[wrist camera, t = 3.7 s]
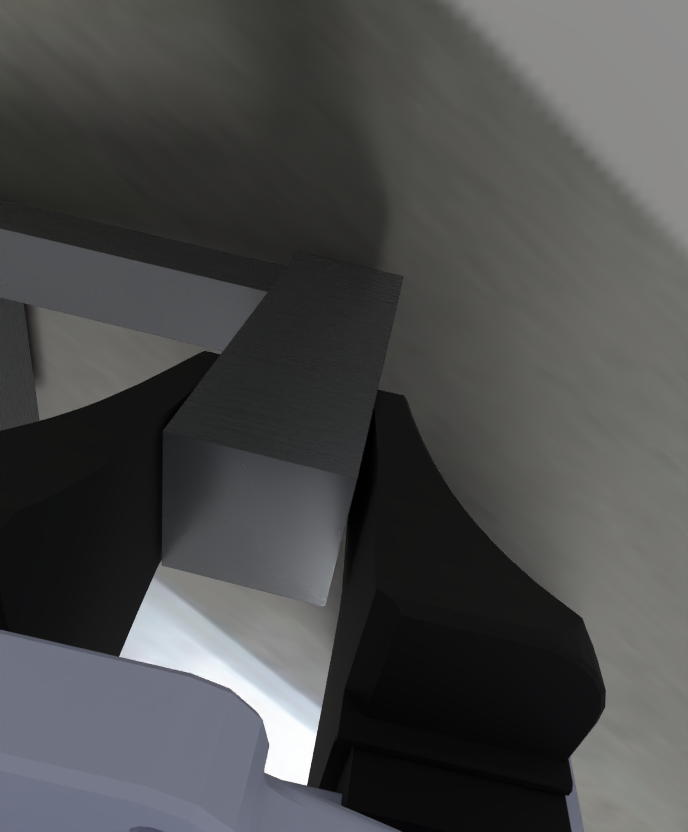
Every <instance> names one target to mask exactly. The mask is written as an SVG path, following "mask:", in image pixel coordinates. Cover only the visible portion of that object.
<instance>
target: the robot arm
mask: <svg viewBox="0 0 688 832" xmlns="http://www.w3.org/2000/svg"><path fill="white" fill-rule="evenodd" d="M219 356H220V354H216V353H212V352H207V351H204V352H201V353H199V354H197V355H195V356H193V357H191V358H189V359H187V360H185V361H183V362H181V363H179V364H177V365H176V366H174V367H172V368H170V369H168V370H166V371H164V372H162V373H160V374H158V375H156V376H154V377H152V378H150V379H148V380H146V381H144V382H142V383H140V384H138V385H135V386H133V387H131V388H129V389H126V390H124V391H122V392H120V393H117V394H115V395H113V396H110V397H108V398H106V399H104V400H101V401H99V402H96V403H93V404H91V405H88V406H85V407H83V408H80V409H77V410H74V411H71V412H68V413H65V414H62V415H58V416H55V417H52V418H49V419H45V420H41V421H37V422H33V423H29V424H25V425H21V426H17V427H13V428H9V429H5V430H1V431H0V832H584V829H583V823H582V816H581V811H580V806H579V801H578V796H577V790H576V785H575V780H574V775H573V769H572V764H571V759H570V756H571V755H572V754H573V752H574V751H575V750H576V749H577V747H578V746H579V745H580V743H581V742H582V741H583V740H584V738H585V737H586V736H587V735H588V733H589V732H590V731H591V729H592V728H593V727H594V726H595V724H596V723H597V722H598V720H599V718H600V716H601V714H602V712H603V710H604V708H605V695H606V690H605V686H604V682H603V679H602V675H601V671H600V667H599V663H598V660H597V657H596V654H595V651H594V648H593V645H592V642H591V640H590V637H589V635H588V632H587V630H586V627H585V624H584V621H583V619H582V618H581V617H580V616H579V615H577V614H576V613H575V612H574V611H572V610H571V609H570V608H568V607H567V606H566V605H564V604H563V603H562V602H560V601H559V600H558V599H557V598H555V597H554V596H553V595H551V594H550V593H549V592H547V591H546V590H545V589H543V588H542V587H541V586H540V585H538V584H537V583H536V582H535V581H534V580H532V579H531V578H530V577H529V576H528V575H527V574H526V573H525V572H524V571H522V570H521V569H520V568H519V567H518V566H517V565H516V564H515V563H513V562H512V561H511V560H510V559H509V558H508V557H507V556H506V555H505V554H504V553H503V552H502V551H501V550H500V549H499V548H498V547H497V546H496V545H495V544H494V543H493V542H492V541H491V540H490V538H489V537H488V536H487V535H486V534H485V533H484V532H483V531H482V530H481V529H480V528H479V526H478V525H477V524H476V523H475V522H474V521H473V519H472V518H471V517H470V516H469V515H468V513H467V512H466V511H465V510H464V508H463V507H462V506H461V504H460V503H459V502H458V500H457V499H456V498H455V496H454V495H453V493H452V492H451V490H450V489H449V487H448V486H447V484H446V483H445V481H444V479H443V477H442V476H441V474H440V472H439V471H438V469H437V467H436V465H435V464H434V462H433V460H432V458H431V456H430V454H429V452H428V450H427V448H426V446H425V444H424V442H423V440H422V438H421V436H420V433H419V431H418V429H417V426H416V424H415V421H414V419H413V416H412V414H411V411H410V408H409V405H408V402H407V400H406V398H405V397H404V396H403V395H399V394H394V393H390V392H385V391H381V390H377V394H376V399H375V403H374V408H373V412H372V416H371V421H370V425H369V430H368V434H367V438H366V443H365V447H364V451H363V456H362V460H361V465H360V469H359V473H358V478H357V482H356V486H355V490H354V494H353V498H352V502H351V506H350V510H349V513H348V521H347V534H346V547H345V560H344V573H343V586H342V596H341V604H340V612H339V617H338V623H337V628H336V634H335V639H334V645H333V651H332V656H331V661H330V667H329V672H328V678H327V683H326V689H325V694H324V699H323V705H322V710H321V715H320V721H319V726H318V731H317V737H316V742H315V747H314V752H313V758H312V763H311V768H310V773H309V778H308V784H307V786H305V785H301V784H297V783H292V782H288V781H284V780H280V779H278V778H276V777H273V776H271V775H269V774H266V773H264V768H265V763H266V758H267V754H268V749H269V742H268V739H267V735H266V731H265V727H264V724H263V720H262V718H261V717H260V716H259V714H258V713H257V712H256V711H255V710H254V709H253V708H252V707H251V706H249V705H248V704H247V703H246V702H245V701H244V700H243V699H241V698H240V697H239V696H238V695H237V694H236V693H234V692H233V691H232V690H231V689H229V688H227V687H224V686H222V685H219V684H217V683H214V682H212V681H209V680H206V679H204V678H201V677H199V676H196V675H194V674H191V673H187V672H183V671H178V670H174V669H169V668H165V667H161V666H156V665H152V664H148V663H143V662H139V661H135V660H130V659H126V658H121V657H119V655H120V653H121V650H122V648H123V646H124V643H125V641H126V639H127V636H128V634H129V631H130V629H131V627H132V624H133V622H134V620H135V617H136V615H137V612H138V610H139V608H140V605H141V603H142V601H143V599H144V596H145V594H146V592H147V590H148V587H149V585H150V583H151V581H152V578H153V576H154V574H155V571H156V569H157V567H158V565H159V563H160V562H161V560H162V477H163V430H164V429H165V427H166V426H167V425H168V423H169V422H170V421H171V419H172V418H173V417H174V415H175V414H176V413H177V411H178V410H179V409H180V407H181V406H182V405H183V404H184V402H185V401H186V400H187V398H188V397H189V396H190V394H191V393H192V392H193V390H194V389H195V388H196V386H197V385H198V384H199V382H200V381H201V380H202V378H203V377H204V376H205V374H206V373H207V372H208V370H209V369H210V368H211V366H212V365H213V364H214V363H215V361H216V360H217V359H218V357H219Z"/></svg>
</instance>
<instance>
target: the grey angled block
mask: <svg viewBox="0 0 688 832" xmlns="http://www.w3.org/2000/svg"><path fill="white" fill-rule="evenodd" d="M402 281H403V276H399V275H395V274H391V273H386V272H382V271H378V270H374V269H369V268H365V267H361V266H356V265H352V264H348V263H344V262H339V261H335V260H331V259H327V258H322V257H318V256H314V255H309V254H305V253H301V252H298V253H297V254H296V255H295V257H294V258H293V259H292V261H291V262H290V263H289V265H288V266H287V267H285V266H281V265H277V264H272V263H268V262H264V261H260V260H255V259H251V258H247V257H243V256H238V255H234V254H230V253H226V252H221V251H217V250H213V249H209V248H204V247H200V246H196V245H192V244H187V243H183V242H179V241H175V240H170V239H166V238H162V237H158V236H153V235H149V234H145V233H141V232H136V231H132V230H128V229H124V228H119V227H115V226H111V225H107V224H102V223H98V222H94V221H90V220H85V219H81V218H77V217H73V216H68V215H64V214H60V213H56V212H51V211H47V210H43V209H39V208H34V207H30V206H26V205H22V204H17V203H13V202H9V201H5V200H0V431H1V430H5V429H9V428H13V427H17V426H21V425H25V424H29V423H33V422H37V421H39V414H38V407H37V399H36V392H35V384H34V377H33V370H32V362H31V355H30V348H29V340H28V333H27V325H26V318H25V311H24V303H25V304H30V305H34V306H38V307H42V308H46V309H50V310H54V311H59V312H63V313H67V314H71V315H75V316H79V317H83V318H88V319H92V320H96V321H100V322H104V323H108V324H112V325H116V326H121V327H125V328H129V329H133V330H137V331H141V332H145V333H150V334H154V335H158V336H162V337H166V338H170V339H174V340H179V341H183V342H187V343H191V344H195V345H199V346H203V347H208V348H212V349H216V350H220V351H223V352H222V353H221V355H220V356H219V357H218V359H217V360H216V361H215V363H214V364H213V365H212V366H211V368H210V369H209V370H208V372H207V373H206V374H205V376H204V377H203V378H202V380H201V381H200V382H199V384H198V385H197V386H196V388H195V389H194V390H193V392H192V393H191V394H190V396H189V397H188V398H187V400H186V401H185V402H184V404H183V405H182V406H181V407H180V409H179V410H178V411H177V413H176V414H175V415H174V417H173V418H172V419H171V421H170V422H169V423H168V425H167V426H166V427H165V429H164V430H163V477H162V565H163V566H166V567H170V568H174V569H178V570H182V571H186V572H190V573H194V574H198V575H202V576H206V577H209V578H213V579H217V580H221V581H225V582H229V583H233V584H237V585H241V586H245V587H248V588H252V589H256V590H260V591H264V592H268V593H272V594H276V595H280V596H284V597H287V598H291V599H295V600H299V601H303V602H307V603H311V604H315V605H319V606H323V607H325V605H326V601H327V597H328V593H329V589H330V585H331V581H332V577H333V573H334V569H335V565H336V561H337V557H338V553H339V549H340V545H341V541H342V537H343V533H344V529H345V525H346V521H347V517H348V513H349V510H350V506H351V502H352V498H353V494H354V490H355V486H356V482H357V478H358V473H359V469H360V465H361V460H362V456H363V451H364V447H365V443H366V438H367V434H368V430H369V425H370V421H371V416H372V412H373V408H374V403H375V399H376V394H377V390H378V386H379V381H380V377H381V373H382V368H383V364H384V359H385V355H386V351H387V346H388V342H389V338H390V333H391V329H392V324H393V320H394V316H395V311H396V307H397V303H398V298H399V294H400V289H401V285H402Z"/></svg>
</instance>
